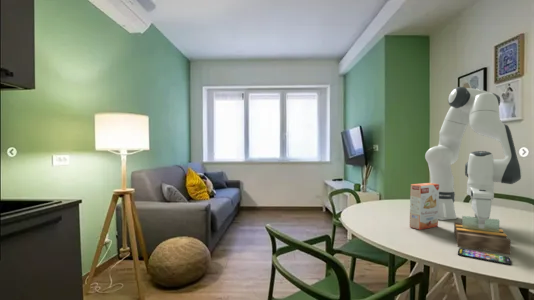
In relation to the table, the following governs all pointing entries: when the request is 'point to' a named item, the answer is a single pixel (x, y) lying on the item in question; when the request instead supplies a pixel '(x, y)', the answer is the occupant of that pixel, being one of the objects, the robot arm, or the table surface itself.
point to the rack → (481, 239)
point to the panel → (472, 222)
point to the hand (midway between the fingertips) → (479, 225)
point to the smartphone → (484, 256)
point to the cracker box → (424, 205)
